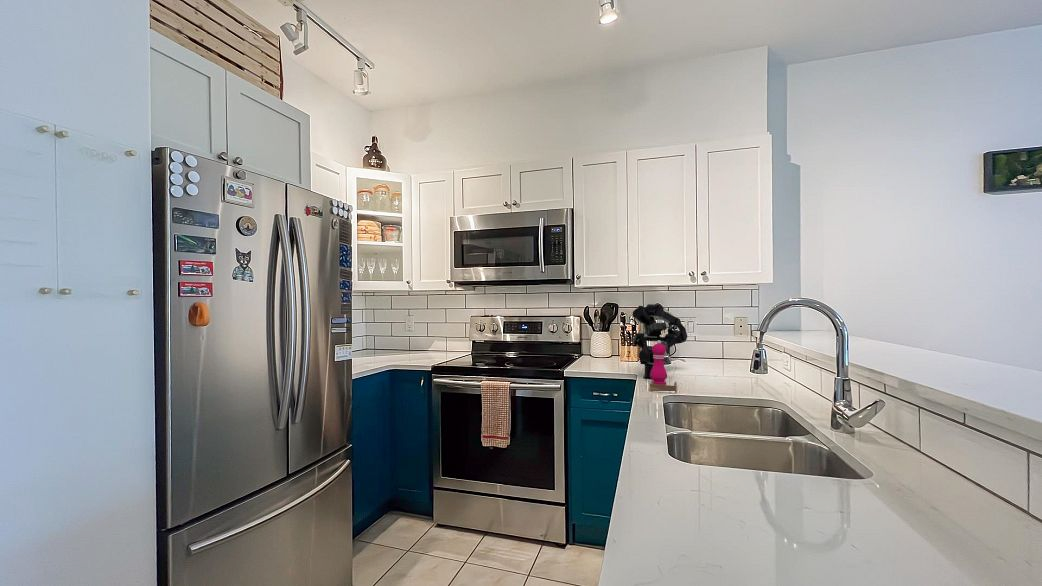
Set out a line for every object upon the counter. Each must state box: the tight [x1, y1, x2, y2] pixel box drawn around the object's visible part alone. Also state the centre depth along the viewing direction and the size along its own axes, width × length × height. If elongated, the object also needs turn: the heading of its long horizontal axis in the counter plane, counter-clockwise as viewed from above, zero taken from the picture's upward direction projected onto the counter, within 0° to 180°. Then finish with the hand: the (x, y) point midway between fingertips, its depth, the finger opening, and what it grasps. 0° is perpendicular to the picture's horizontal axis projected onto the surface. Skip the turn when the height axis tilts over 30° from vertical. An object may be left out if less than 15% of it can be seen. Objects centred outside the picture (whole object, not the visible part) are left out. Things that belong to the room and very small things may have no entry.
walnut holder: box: [649, 379, 678, 392], centre depth 185 cm, size 9×10×3 cm
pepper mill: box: [650, 340, 668, 385], centre depth 194 cm, size 7×7×20 cm
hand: (658, 354), depth 197 cm, fingers open, 9 cm apart
